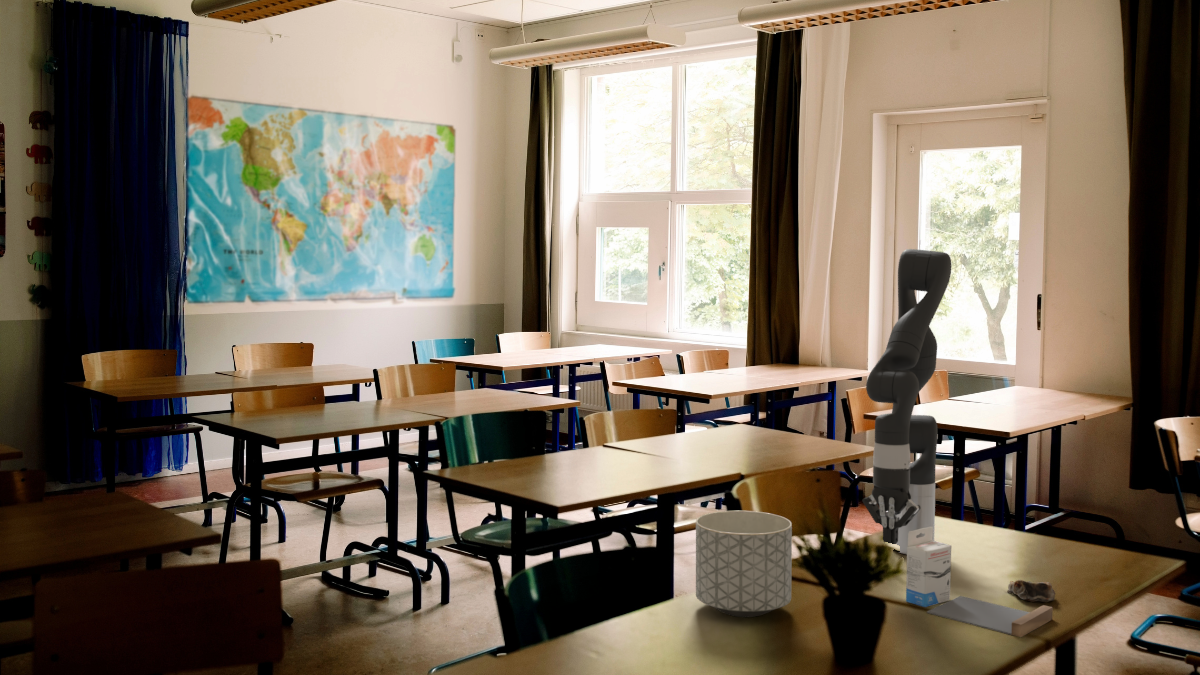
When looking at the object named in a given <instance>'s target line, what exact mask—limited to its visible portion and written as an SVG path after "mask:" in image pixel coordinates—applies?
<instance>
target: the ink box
mask: <svg viewBox="0 0 1200 675" xmlns="http://www.w3.org/2000/svg"><path fill="white" fill-rule="evenodd" d="M920 533H922V534H925V536H923V537H919V538H916V536H917V535H919V534H920ZM951 568H952V544H947V543H944V542H940V541H937V540H934V541H933V527H932V526H931V527H927V528H922V529H918V530H914V531H909V533H908V546H907V554H906V577H905V578H906V581H905V584H906V590H905V593H906V594H905V595H906V596H905V602H907V603H910V604H913V605H915V606H919V607H923V608H927V607H930V606H935V605H938V604H943V603H946V602H948V601H950V600H951V577H952V576H951V572H952V569H951Z"/></svg>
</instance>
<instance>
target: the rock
mask: <svg viewBox="0 0 1200 675" xmlns="http://www.w3.org/2000/svg"><path fill="white" fill-rule="evenodd" d="M1007 588H1008V589H1007V590H1006V592H1007V593H1008V594H1013V595H1017V596H1018V597H1019V598H1020V599H1021V600H1023V601H1025V600H1026V601H1028V602H1033V603H1034V602H1041V603H1048V602H1053V601H1055V599H1056V591H1055V590H1054V588H1053V586H1052V583H1051V582H1049V581H1040V582H1031V581H1026V580H1023V579H1016V580H1014V581H1012V580H1010V581H1009V584H1008V585H1007Z"/></svg>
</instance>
